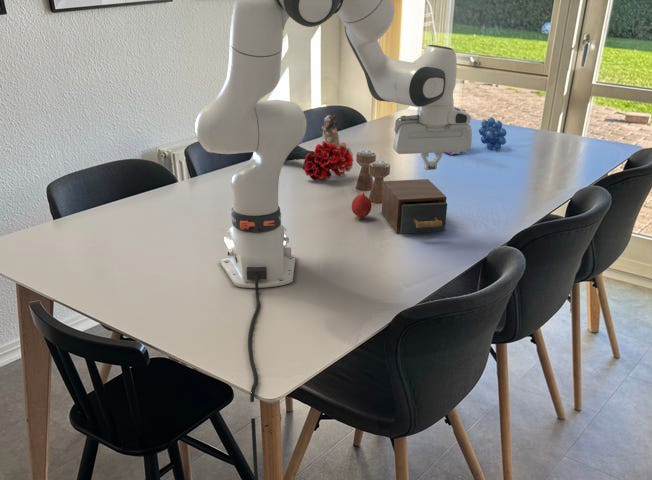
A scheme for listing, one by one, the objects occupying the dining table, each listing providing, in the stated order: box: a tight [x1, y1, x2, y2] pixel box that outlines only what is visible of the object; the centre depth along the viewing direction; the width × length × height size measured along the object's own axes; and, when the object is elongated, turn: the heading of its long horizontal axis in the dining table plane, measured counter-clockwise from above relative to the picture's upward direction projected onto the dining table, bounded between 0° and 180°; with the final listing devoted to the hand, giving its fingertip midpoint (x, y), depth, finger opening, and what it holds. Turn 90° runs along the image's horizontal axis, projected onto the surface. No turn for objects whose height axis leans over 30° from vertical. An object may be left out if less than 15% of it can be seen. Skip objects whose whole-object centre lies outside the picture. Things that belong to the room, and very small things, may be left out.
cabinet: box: [381, 178, 447, 234], centre depth 202 cm, size 17×14×10 cm
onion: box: [351, 191, 373, 220], centre depth 204 cm, size 6×6×8 cm
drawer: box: [400, 200, 448, 234], centre depth 197 cm, size 21×13×8 cm, turn 11°
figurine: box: [320, 114, 340, 147], centre depth 272 cm, size 7×7×12 cm
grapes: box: [478, 116, 507, 151], centre depth 270 cm, size 12×7×12 cm, turn 55°
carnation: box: [285, 142, 354, 182], centre depth 241 cm, size 16×18×35 cm
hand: (430, 169), depth 184 cm, fingers closed
